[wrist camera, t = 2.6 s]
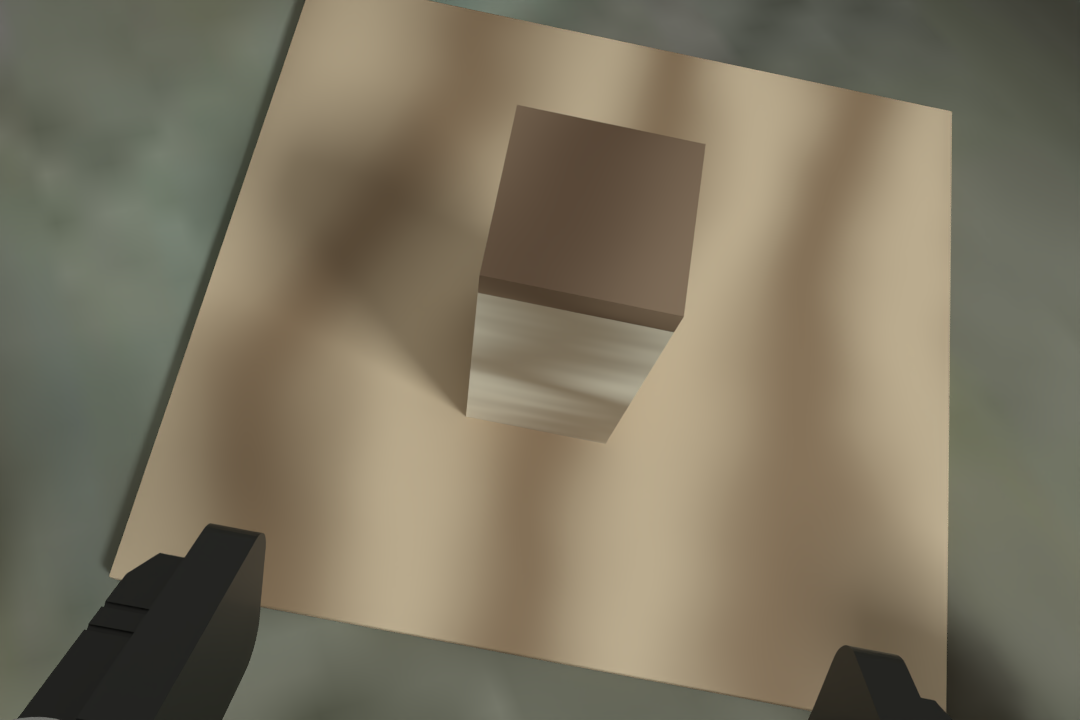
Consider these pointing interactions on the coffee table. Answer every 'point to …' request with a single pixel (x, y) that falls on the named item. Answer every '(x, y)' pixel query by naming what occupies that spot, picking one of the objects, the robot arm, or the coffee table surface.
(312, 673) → the coffee table surface
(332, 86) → the wooden board
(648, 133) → the white block
